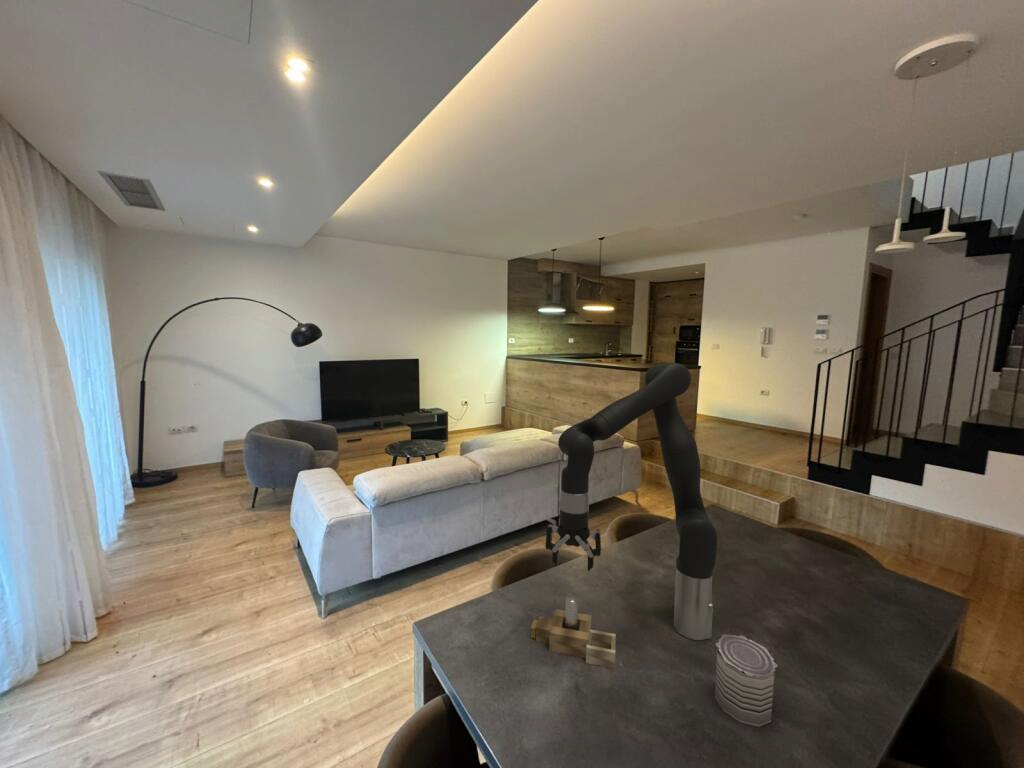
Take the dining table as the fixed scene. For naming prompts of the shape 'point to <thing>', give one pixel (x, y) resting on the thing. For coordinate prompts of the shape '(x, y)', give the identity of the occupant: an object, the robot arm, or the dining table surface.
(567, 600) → the rod
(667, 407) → the robot arm
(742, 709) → the can
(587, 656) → the frame
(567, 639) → the socket block
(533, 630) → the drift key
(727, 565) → the dining table surface
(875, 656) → the dining table surface
